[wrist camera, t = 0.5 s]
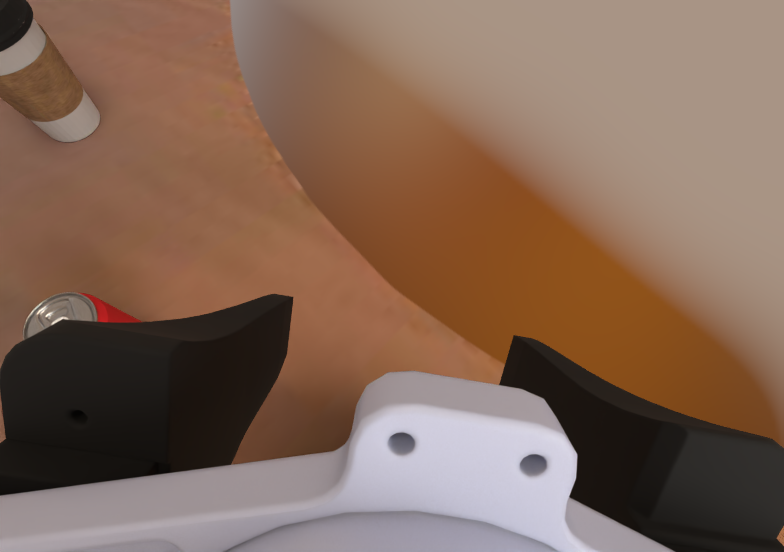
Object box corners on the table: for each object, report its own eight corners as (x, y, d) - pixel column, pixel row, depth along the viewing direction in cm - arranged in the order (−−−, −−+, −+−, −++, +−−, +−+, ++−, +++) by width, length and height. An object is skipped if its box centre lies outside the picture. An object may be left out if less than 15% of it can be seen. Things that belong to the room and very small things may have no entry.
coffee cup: (31, 104, 50) (-101, -27, 36) (106, 86, 51) (6, -47, 38) (38, 160, 47) (-103, 41, 33) (117, 139, 49) (13, 17, 35)
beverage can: (163, 321, 41) (84, 275, 30) (186, 365, 40) (112, 334, 29) (110, 351, 40) (7, 315, 29) (132, 398, 38) (33, 379, 27)
